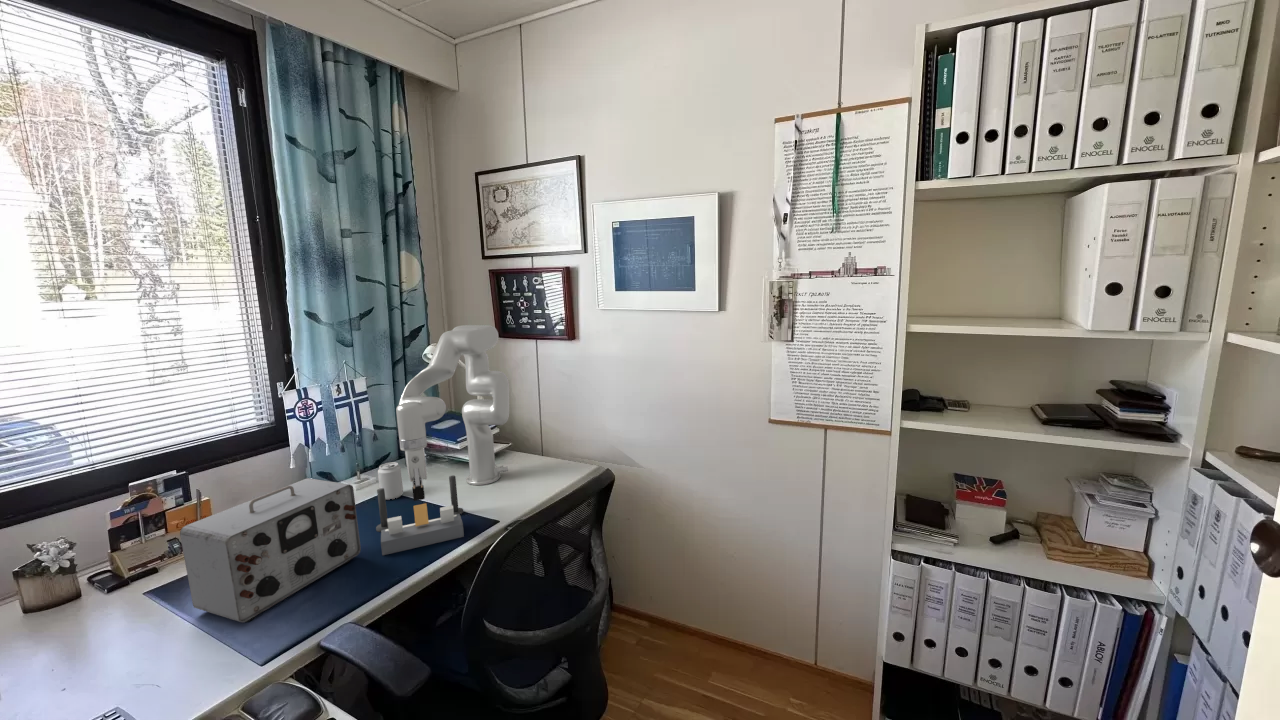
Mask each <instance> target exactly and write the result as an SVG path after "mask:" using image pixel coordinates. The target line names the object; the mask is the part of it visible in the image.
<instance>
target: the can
mask: <svg viewBox="0 0 1280 720" xmlns="http://www.w3.org/2000/svg"><path fill="white" fill-rule="evenodd" d="M377 477H378V478H377V479H378V486H379V487H378V489H381V488H384V491H385V500H387V501H390V499H392V500H396V499H398V498H400V497H401V496H402V495H403V494H404V487H403V485H404V484H403V476H402V467H401V466H400V465H399V463H398V462H397V461H396V462H395V461H393V462H385V463H383V464H381V465H379V468H378V470H377ZM395 498H396V499H395Z"/></svg>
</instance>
